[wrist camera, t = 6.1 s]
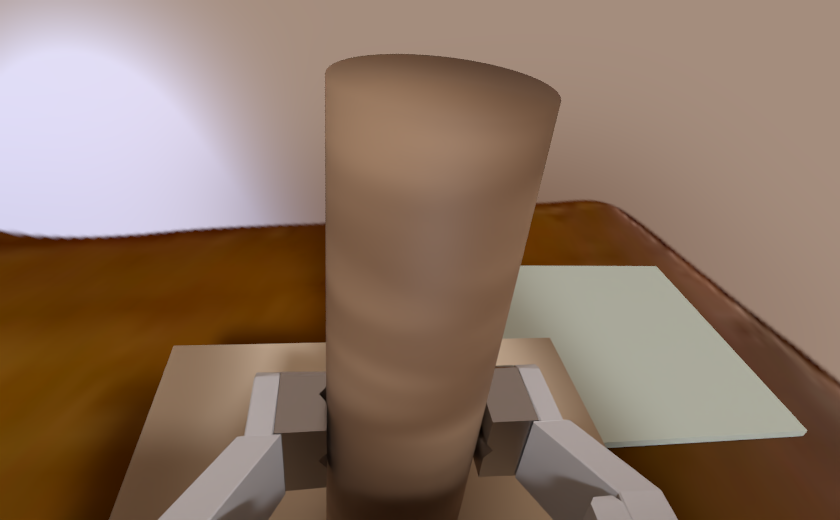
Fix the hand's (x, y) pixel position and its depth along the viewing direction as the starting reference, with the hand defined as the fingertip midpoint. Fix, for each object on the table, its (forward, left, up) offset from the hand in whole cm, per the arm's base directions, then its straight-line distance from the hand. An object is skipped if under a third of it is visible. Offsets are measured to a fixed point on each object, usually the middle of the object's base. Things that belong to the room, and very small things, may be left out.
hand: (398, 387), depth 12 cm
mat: (+14, +12, -10) cm, 21 cm away
